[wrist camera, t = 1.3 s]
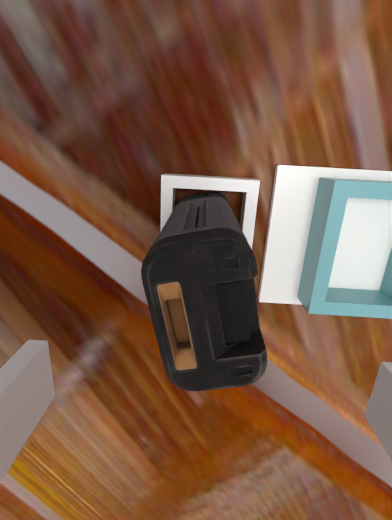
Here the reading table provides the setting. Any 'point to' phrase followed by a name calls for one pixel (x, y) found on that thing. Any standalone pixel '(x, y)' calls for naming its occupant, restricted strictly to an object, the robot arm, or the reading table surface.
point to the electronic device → (204, 297)
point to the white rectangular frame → (213, 183)
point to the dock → (330, 241)
